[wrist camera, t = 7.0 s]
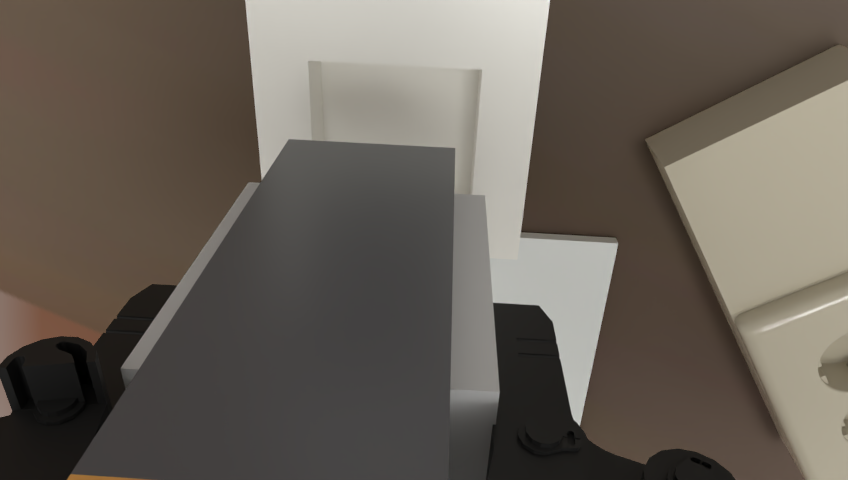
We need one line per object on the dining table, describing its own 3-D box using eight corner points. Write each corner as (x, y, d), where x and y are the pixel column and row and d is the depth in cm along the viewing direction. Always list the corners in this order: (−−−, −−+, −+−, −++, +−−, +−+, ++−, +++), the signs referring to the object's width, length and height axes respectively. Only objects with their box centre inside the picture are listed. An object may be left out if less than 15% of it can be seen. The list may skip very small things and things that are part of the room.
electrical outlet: (900, 71, 20) (996, 449, 27) (833, 41, 23) (933, 382, 30) (671, 177, 22) (817, 502, 29) (642, 135, 25) (778, 434, 32)
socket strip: (510, 209, 27) (545, 454, 15) (292, 197, 27) (169, 429, 16) (571, -327, 18) (747, -658, 7) (257, -338, 19) (-62, -675, 7)
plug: (445, 287, 17) (428, 790, 8) (298, 279, 18) (103, 765, 8) (455, 148, 15) (446, 591, 6) (288, 139, 16) (14, 560, 6)
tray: (567, 472, 34) (568, 479, 33) (376, 459, 34) (375, 466, 34) (615, 237, 27) (618, 243, 27) (376, 224, 27) (375, 229, 27)
